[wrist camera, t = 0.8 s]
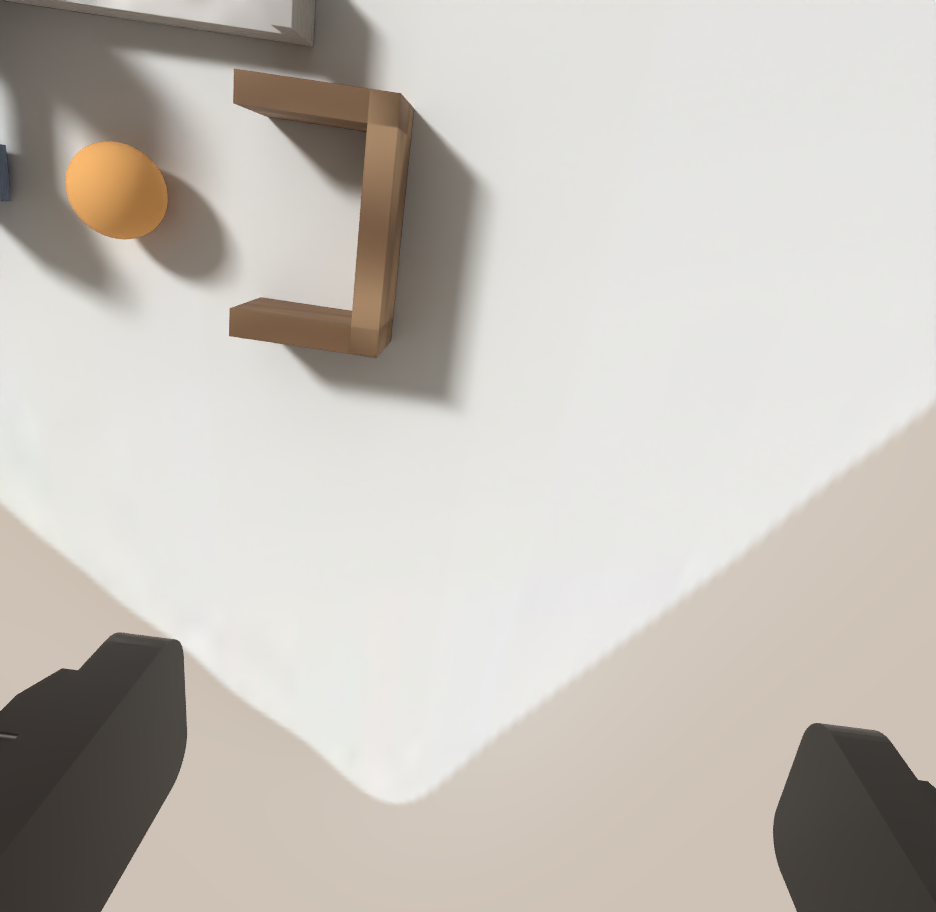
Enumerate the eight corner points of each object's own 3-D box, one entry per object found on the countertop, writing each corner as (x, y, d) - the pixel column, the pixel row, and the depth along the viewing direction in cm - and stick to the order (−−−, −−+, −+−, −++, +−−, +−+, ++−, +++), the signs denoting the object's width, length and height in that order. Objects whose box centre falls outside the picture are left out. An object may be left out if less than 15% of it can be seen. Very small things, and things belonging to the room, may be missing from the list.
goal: (268, 86, 30) (234, 68, 26) (413, 108, 30) (400, 93, 26) (260, 322, 33) (229, 336, 30) (390, 341, 33) (376, 357, 30)
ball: (96, 139, 31) (40, 129, 27) (183, 152, 31) (138, 144, 27) (100, 230, 32) (47, 233, 29) (183, 243, 32) (141, 247, 29)
